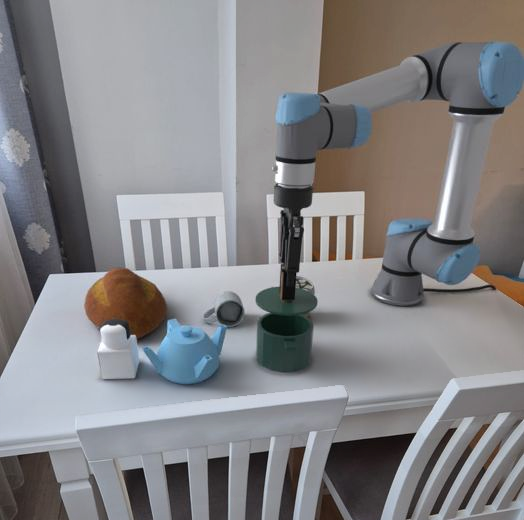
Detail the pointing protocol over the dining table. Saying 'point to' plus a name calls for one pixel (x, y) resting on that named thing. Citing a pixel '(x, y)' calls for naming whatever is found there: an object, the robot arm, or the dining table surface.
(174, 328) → the teapot
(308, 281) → the food container
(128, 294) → the bread
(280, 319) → the canister
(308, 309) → the canister lid
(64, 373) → the dining table surface
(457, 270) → the robot arm
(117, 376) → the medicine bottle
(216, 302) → the ceramic mug
